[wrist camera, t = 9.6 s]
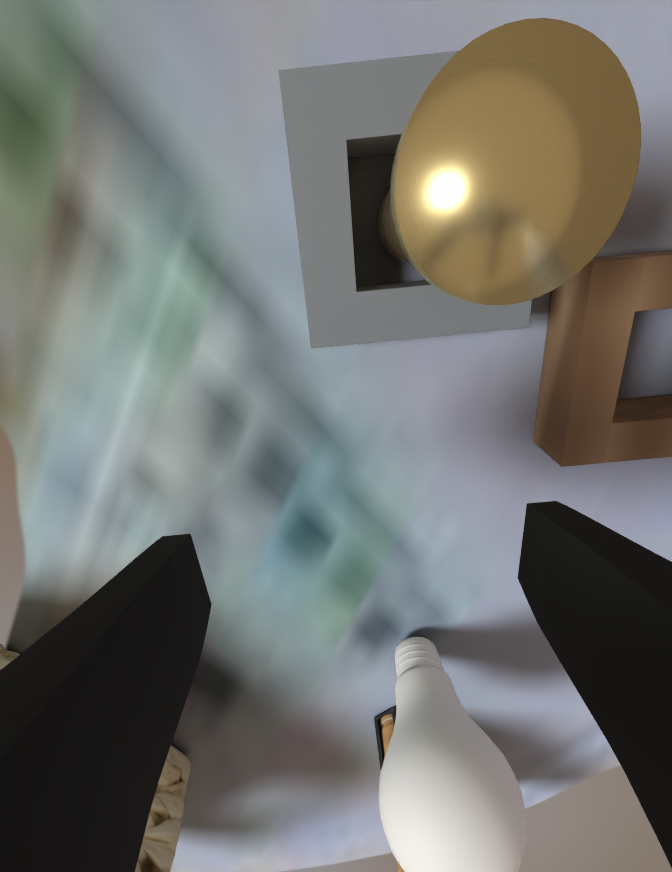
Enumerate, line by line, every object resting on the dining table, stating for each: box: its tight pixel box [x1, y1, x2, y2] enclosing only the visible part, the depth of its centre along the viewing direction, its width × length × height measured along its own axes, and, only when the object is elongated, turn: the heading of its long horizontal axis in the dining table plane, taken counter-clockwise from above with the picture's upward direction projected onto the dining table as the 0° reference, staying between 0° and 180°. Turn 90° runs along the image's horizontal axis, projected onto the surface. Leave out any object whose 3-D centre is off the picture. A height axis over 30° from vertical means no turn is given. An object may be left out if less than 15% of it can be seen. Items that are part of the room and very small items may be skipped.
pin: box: [378, 18, 641, 306], centre depth 11 cm, size 4×4×9 cm
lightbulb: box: [379, 637, 527, 872], centre depth 20 cm, size 6×6×11 cm
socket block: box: [279, 51, 532, 349], centre depth 14 cm, size 8×8×2 cm
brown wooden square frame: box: [533, 250, 672, 467], centre depth 16 cm, size 8×8×2 cm
